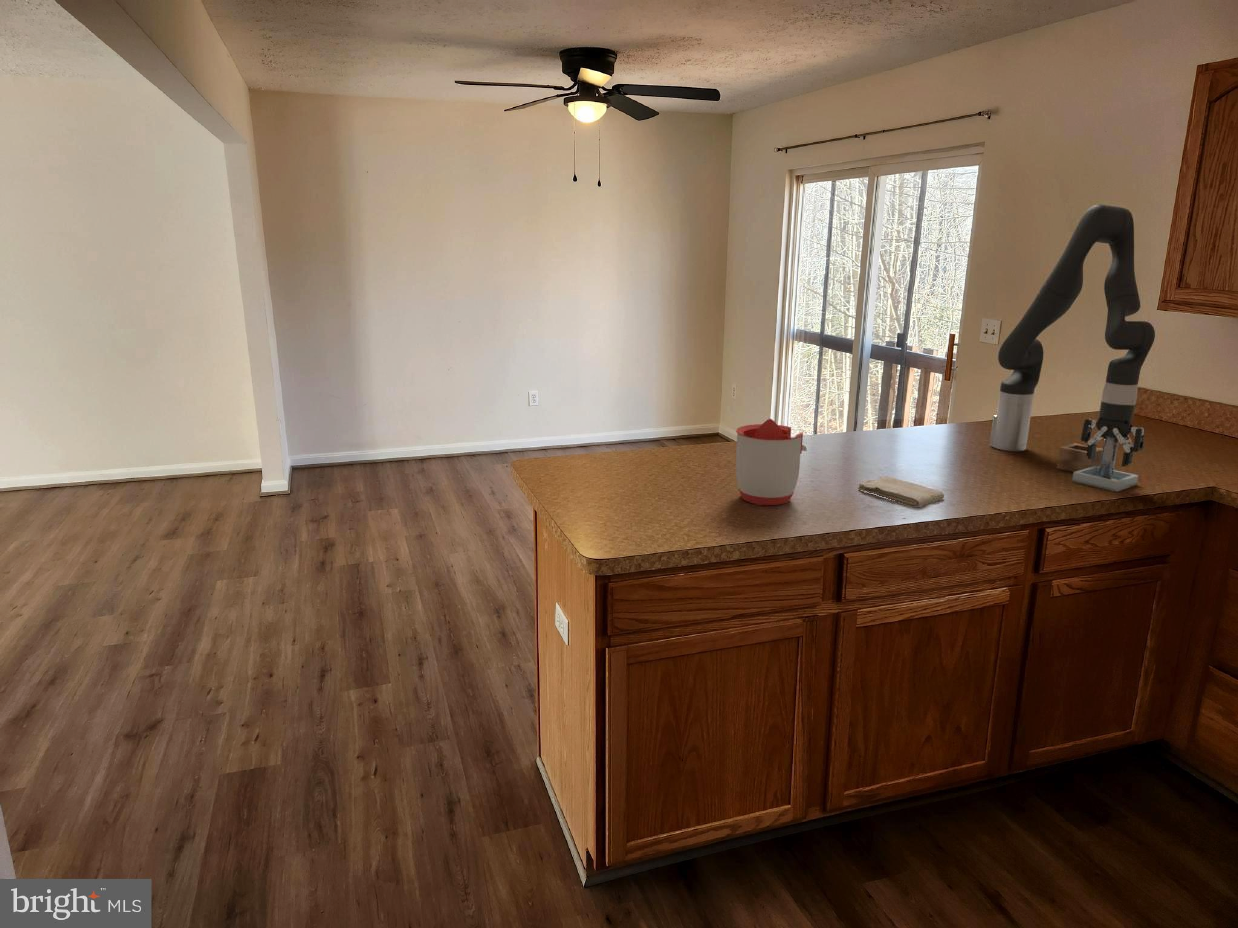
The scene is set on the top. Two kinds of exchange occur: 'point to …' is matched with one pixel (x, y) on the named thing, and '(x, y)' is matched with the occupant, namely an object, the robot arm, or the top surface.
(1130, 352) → the robot arm
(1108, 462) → the pin
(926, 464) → the top surface
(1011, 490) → the top surface
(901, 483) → the washcloth
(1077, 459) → the square hollow tube
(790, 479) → the citrus juicer
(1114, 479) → the tray
